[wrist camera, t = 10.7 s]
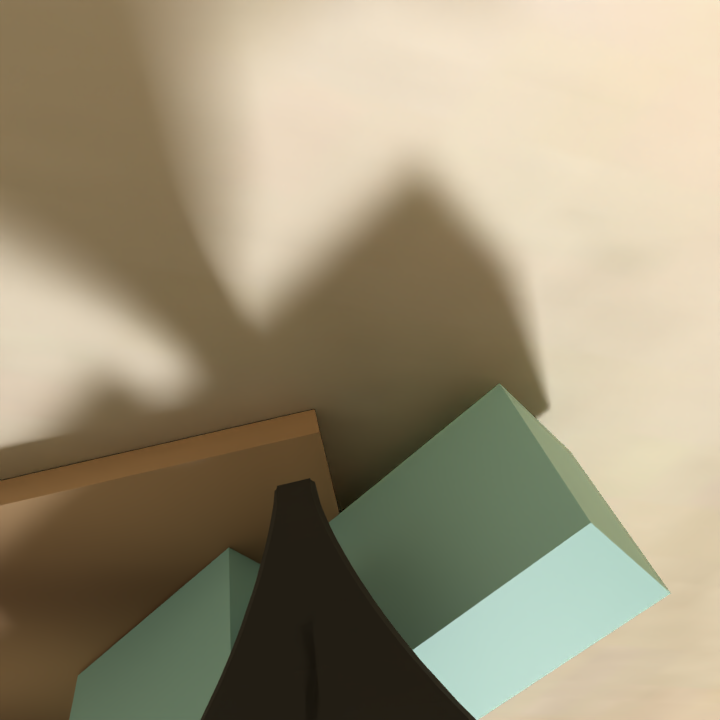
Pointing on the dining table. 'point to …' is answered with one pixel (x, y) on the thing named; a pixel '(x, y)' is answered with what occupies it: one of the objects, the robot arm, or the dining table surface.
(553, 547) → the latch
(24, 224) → the dining table surface
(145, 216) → the dining table surface
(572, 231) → the dining table surface
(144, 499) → the board
